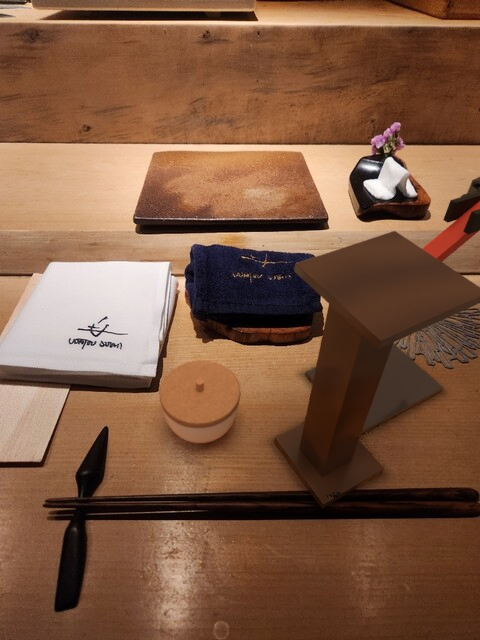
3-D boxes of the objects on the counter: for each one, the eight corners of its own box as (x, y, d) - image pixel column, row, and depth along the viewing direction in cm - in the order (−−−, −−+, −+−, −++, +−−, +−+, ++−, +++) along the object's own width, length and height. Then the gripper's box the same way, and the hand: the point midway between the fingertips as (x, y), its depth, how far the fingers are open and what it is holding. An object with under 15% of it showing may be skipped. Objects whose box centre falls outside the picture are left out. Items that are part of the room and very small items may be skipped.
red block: (525, 202, 57) (526, 192, 56) (401, 304, 57) (400, 298, 55) (495, 187, 60) (495, 178, 58) (377, 285, 59) (375, 278, 58)
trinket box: (149, 420, 66) (141, 378, 60) (207, 382, 72) (205, 340, 65) (195, 472, 60) (192, 431, 54) (254, 426, 66) (258, 384, 59)
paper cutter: (442, 391, 72) (443, 387, 71) (358, 436, 65) (359, 432, 65) (384, 339, 80) (385, 335, 79) (304, 374, 73) (305, 371, 73)
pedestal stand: (401, 466, 62) (488, 292, 42) (324, 512, 57) (381, 340, 37) (344, 403, 69) (394, 230, 49) (272, 439, 64) (295, 263, 44)
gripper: (612, 230, 62) (501, 276, 53) (512, 184, 72) (404, 216, 63) (647, 177, 57) (531, 218, 48) (534, 135, 67) (420, 163, 58)
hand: (459, 217), depth 55 cm, fingers closed on red block, 2 cm apart
